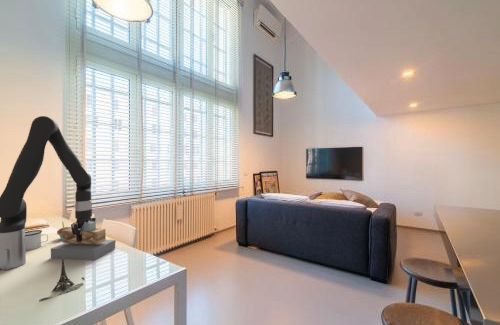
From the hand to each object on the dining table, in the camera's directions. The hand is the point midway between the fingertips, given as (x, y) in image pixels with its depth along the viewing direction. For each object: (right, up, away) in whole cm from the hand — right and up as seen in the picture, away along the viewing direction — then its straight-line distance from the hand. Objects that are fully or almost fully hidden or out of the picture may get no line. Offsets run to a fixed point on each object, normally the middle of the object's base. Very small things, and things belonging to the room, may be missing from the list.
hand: (84, 239), depth 125 cm
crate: (+3, +5, -1) cm, 6 cm away
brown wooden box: (0, -1, 0) cm, 1 cm away
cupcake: (-30, -8, +25) cm, 40 cm away
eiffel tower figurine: (+17, -9, -34) cm, 39 cm away
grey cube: (-3, +5, 0) cm, 6 cm away
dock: (0, -8, 0) cm, 8 cm away
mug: (-36, -8, +9) cm, 38 cm away
